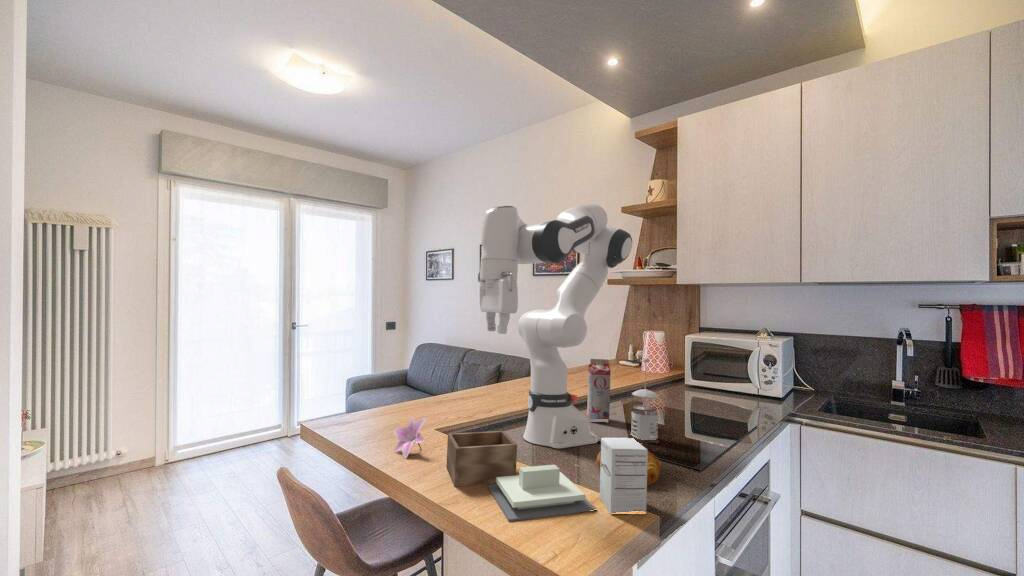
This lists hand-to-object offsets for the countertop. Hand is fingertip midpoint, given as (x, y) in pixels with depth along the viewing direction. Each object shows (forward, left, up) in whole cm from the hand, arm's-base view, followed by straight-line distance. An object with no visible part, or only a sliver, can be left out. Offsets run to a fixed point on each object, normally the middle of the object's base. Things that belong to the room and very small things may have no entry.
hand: (496, 332), depth 98 cm
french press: (-55, -19, -33) cm, 67 cm away
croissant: (-34, +5, -34) cm, 48 cm away
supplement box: (-22, +20, -33) cm, 45 cm away
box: (+2, -2, -33) cm, 33 cm away
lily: (+17, -20, -33) cm, 43 cm away
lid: (-7, +13, -33) cm, 36 cm away
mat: (-7, +13, -33) cm, 36 cm away
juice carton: (-51, -41, -33) cm, 73 cm away
